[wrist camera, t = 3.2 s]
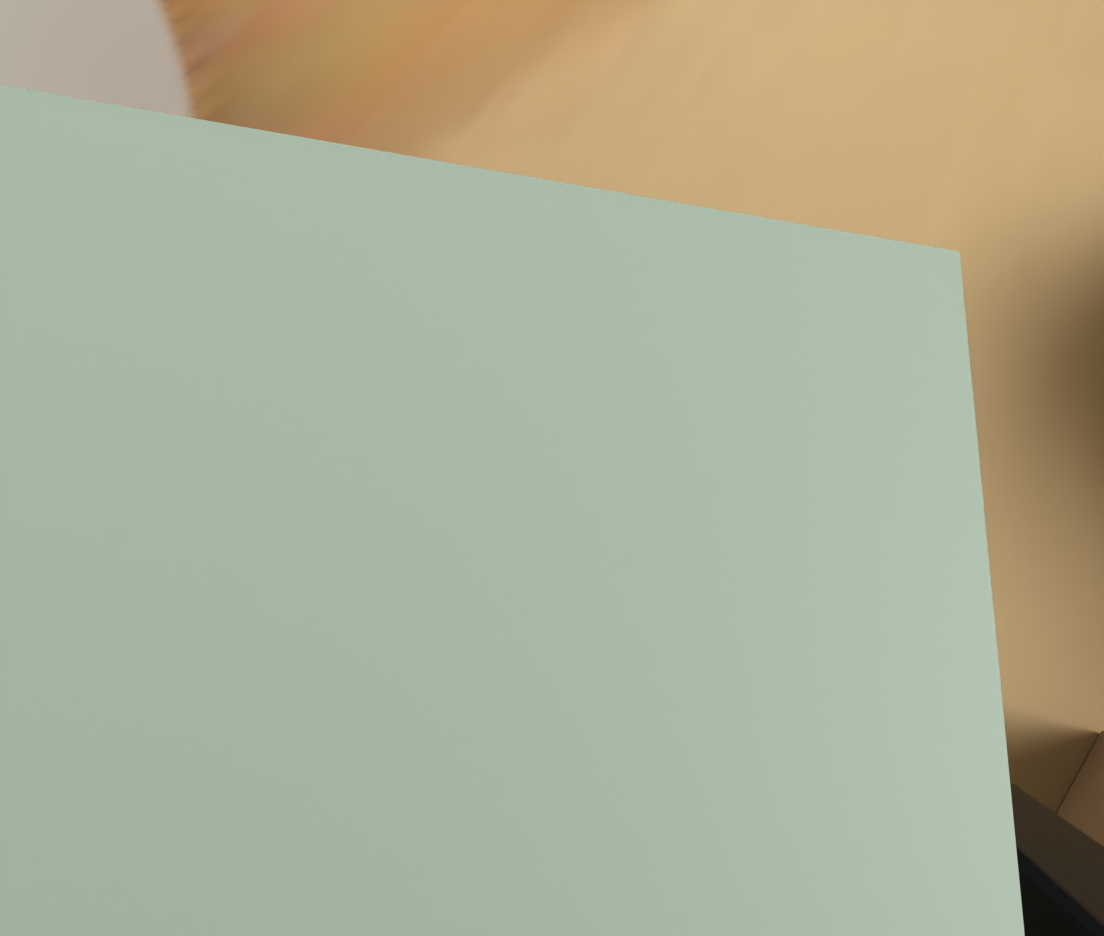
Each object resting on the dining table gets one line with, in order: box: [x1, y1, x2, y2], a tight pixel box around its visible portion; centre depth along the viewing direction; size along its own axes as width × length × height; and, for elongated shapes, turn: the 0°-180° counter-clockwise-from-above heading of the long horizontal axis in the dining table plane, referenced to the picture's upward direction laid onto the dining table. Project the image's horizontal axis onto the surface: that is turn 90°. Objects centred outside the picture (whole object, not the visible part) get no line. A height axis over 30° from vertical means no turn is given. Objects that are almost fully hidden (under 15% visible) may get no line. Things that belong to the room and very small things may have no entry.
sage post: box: [0, 85, 1025, 936], centre depth 9 cm, size 4×4×13 cm
